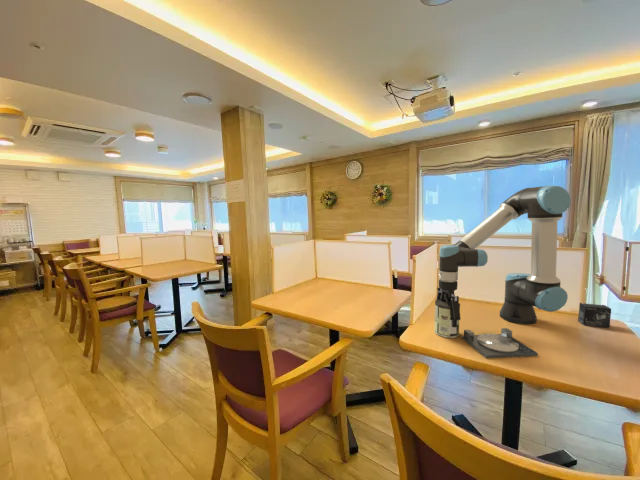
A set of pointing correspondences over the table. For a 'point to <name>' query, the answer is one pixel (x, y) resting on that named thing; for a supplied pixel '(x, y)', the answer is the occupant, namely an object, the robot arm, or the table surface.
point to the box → (594, 315)
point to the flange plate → (498, 344)
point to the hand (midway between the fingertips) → (446, 328)
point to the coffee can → (444, 319)
